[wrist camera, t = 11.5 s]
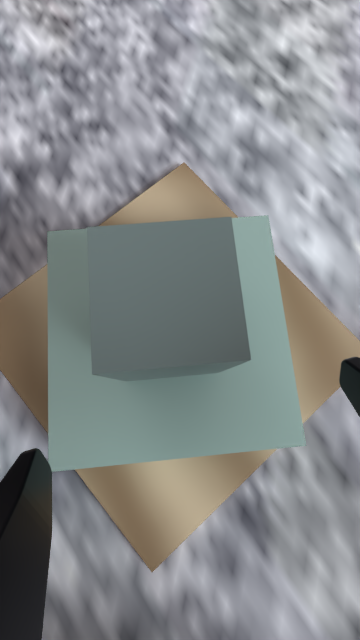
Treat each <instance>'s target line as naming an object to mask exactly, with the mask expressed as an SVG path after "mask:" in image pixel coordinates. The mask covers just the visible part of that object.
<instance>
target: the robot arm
mask: <svg viewBox="0 0 360 640" xmlns="http://www.w3.org/2000/svg"><path fill="white" fill-rule="evenodd" d="M339 383H340V386H341V388H342V390H343V391H344V393H345V394H346V396H347V398H348V399H349V401H350V402H351V404H352V405H353V407H354V409H355V410H356V412H357V413H358V415H359V417H360V358H359V357H351V358H348V359H344V360H343V361H342V362H341V368H340V376H339ZM51 537H52V471H51V467H50V464H49V463H48V461H47V460H46V458H45V457H44V455H43V454H42V452H41V451H40V450H39V449H37V448H35V449H31V450H28V451H25V452H23V453H21V454H20V456H19V457H18V458H17V460H16V461H15V463H14V464H13V465H12V467H11V468H10V469H9V471H8V472H7V474H6V475H5V476H4V478H3V479H2V481H1V482H0V640H41V638H42V628H43V618H44V608H45V598H46V588H47V578H48V568H49V558H50V548H51Z"/></svg>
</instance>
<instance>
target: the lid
mask: <svg viewBox="0 0 360 640" xmlns="http://www.w3.org/2000/svg"><path fill="white" fill-rule="evenodd" d="M47 271H48V463H49V464H50V467H51V471H52V472H55V471H64V470H74V469H84V468H93V467H103V466H113V465H123V464H132V463H142V462H152V461H161V460H171V459H181V458H191V457H200V456H210V455H220V454H229V453H239V452H249V451H259V450H268V449H278V448H288V447H297V446H306V441H305V435H304V429H303V423H302V417H301V411H300V405H299V399H298V393H297V387H296V381H295V375H294V369H293V363H292V357H291V350H290V344H289V338H288V332H287V326H286V320H285V314H284V308H283V302H282V296H281V290H280V284H279V278H278V272H277V266H276V260H275V254H274V248H273V242H272V236H271V229H270V223H269V217H268V215H267V216H253V217H239V218H232V217H220V218H206V219H193V220H179V221H165V222H151V223H137V224H124V225H110V226H96V227H87V229H74V230H60V231H47Z"/></svg>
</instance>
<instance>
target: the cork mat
mask: <svg viewBox="0 0 360 640" xmlns="http://www.w3.org/2000/svg"><path fill="white" fill-rule="evenodd" d="M220 217H232V218H238V217H237V216H236V215H235V214H234V213H233V212H232V211H231V210H230V209H229V208H228V207H227V206H226V204H225V203H224V202H223V201H222V200H221V199H220V198H219V197H218V196H217V195H216V194H215V193H214V192H213V191H212V190H211V189H210V188H209V187H208V186H207V185H206V184H205V183H204V182H203V181H202V180H201V179H200V178H199V177H198V176H197V175H196V174H195V173H194V172H193V171H192V170H191V169H190V168H189V167H188V166H187V165H186V164H185V163H183V164H181V165H180V166H179V167H177V168H176V169H175V170H173V171H172V172H170V173H169V174H168V175H166V176H165V177H164V178H162V179H161V180H160V181H158V182H157V183H156V184H154V185H153V186H152V187H150V188H149V189H148V190H146V191H145V192H144V193H142V194H141V195H140V196H138V197H137V198H135V199H134V200H133V201H131V202H130V203H129V204H127V205H126V206H125V207H123V208H122V209H121V210H119V211H118V212H117V213H115V214H114V215H113V216H111V217H110V218H109V219H107V220H106V221H105V222H103V223H102V224H101V225H99V226H110V225H124V224H137V223H151V222H165V221H179V220H193V219H206V218H220ZM275 260H276V266H277V272H278V278H279V284H280V290H281V296H282V302H283V308H284V314H285V320H286V326H287V332H288V338H289V344H290V350H291V357H292V363H293V369H294V375H295V381H296V387H297V393H298V399H299V405H300V411H301V417H302V423H304V422H305V421H306V420H307V419H308V418H309V417H310V416H311V415H312V414H313V413H314V412H315V411H316V410H317V409H318V408H319V407H320V406H321V405H322V404H323V403H324V402H325V401H326V400H327V399H328V398H329V397H330V396H331V395H332V394H333V393H334V392H335V391H336V390H337V389H338V388H339V387H340V383H339V376H340V368H341V362H342V361H343V360H344V359H348V358H351V357H359V358H360V341H359V340H358V339H357V338H356V337H355V336H354V335H353V334H352V333H351V332H350V331H349V330H348V329H347V328H346V327H345V326H344V325H343V324H342V323H341V322H340V321H339V320H338V318H337V317H336V316H335V315H334V314H333V313H332V312H331V311H330V310H329V309H328V308H327V307H326V306H325V305H324V304H323V303H322V302H321V301H320V300H319V299H318V298H317V297H316V296H315V295H314V294H313V293H312V292H311V291H310V290H309V289H308V288H307V287H306V286H305V285H304V284H303V283H302V282H301V281H300V280H299V279H298V278H297V277H296V276H295V275H294V274H293V273H292V272H291V271H290V270H289V269H288V268H287V267H286V266H285V265H284V264H283V263H282V261H281V260H280V259H279V258H278V257H277V256H276V255H275ZM0 370H1V372H2V373H3V374H4V376H5V377H6V378H7V380H8V381H9V382H10V384H11V385H12V386H13V388H14V389H15V390H16V392H17V393H18V394H19V396H20V397H21V398H22V400H23V401H24V402H25V404H26V405H27V406H28V408H29V409H30V410H31V412H32V413H33V414H34V416H35V417H36V418H37V420H38V421H39V422H40V424H41V425H42V426H43V428H44V429H45V430H46V432H47V433H48V271H47V265H45V266H44V267H43V268H41V269H40V270H39V271H37V272H36V273H35V274H33V275H32V276H31V277H29V278H28V279H26V280H25V281H24V282H22V283H21V284H20V285H18V286H17V287H16V288H14V289H13V290H12V291H10V292H9V293H8V294H6V295H5V296H4V297H2V298H1V299H0ZM275 450H276V449H268V450H259V451H249V452H239V453H229V454H220V455H210V456H200V457H191V458H181V459H171V460H161V461H152V462H142V463H132V464H123V465H113V466H103V467H93V468H84V469H75V470H76V472H77V473H78V474H79V476H80V477H81V478H82V480H83V481H84V482H85V484H86V485H87V486H88V488H89V489H90V490H91V492H92V493H93V494H94V496H95V497H96V498H97V500H98V501H99V502H100V504H101V505H102V506H103V508H104V509H105V510H106V512H107V513H108V514H109V516H110V517H111V518H112V520H113V521H114V522H115V524H116V525H117V526H118V528H119V529H120V530H121V532H122V533H123V534H124V536H125V537H126V538H127V540H128V541H129V542H130V544H131V545H132V546H133V548H134V549H135V550H136V552H137V553H138V554H139V556H140V557H141V558H142V560H143V561H144V562H145V564H146V565H147V566H148V568H149V569H150V570H151V572H153V571H154V570H155V569H156V568H157V567H158V566H159V565H160V564H161V563H162V562H163V561H164V560H165V559H166V558H167V557H168V556H169V555H170V554H171V553H172V552H173V551H174V550H175V549H176V548H177V547H178V546H179V545H180V544H181V543H182V542H183V541H184V540H185V539H186V538H187V537H188V536H189V535H190V534H191V533H192V532H193V531H194V530H195V529H196V528H197V527H198V526H199V525H201V524H202V523H203V522H204V521H205V520H206V519H207V518H208V517H209V516H210V515H211V514H212V513H213V512H214V511H215V510H216V509H217V508H218V507H219V506H220V505H221V504H222V503H223V502H224V501H225V500H226V499H227V498H228V497H229V496H230V495H231V494H232V493H233V492H234V491H235V490H236V489H237V488H238V487H239V486H240V485H241V484H242V483H243V482H244V481H245V480H246V479H247V478H248V477H249V476H250V475H251V474H252V473H253V472H254V471H255V470H256V469H257V468H258V467H259V466H260V465H261V464H262V463H263V462H264V461H265V460H266V459H267V458H268V457H269V456H270V455H271V454H272V453H273V452H274V451H275Z"/></svg>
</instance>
